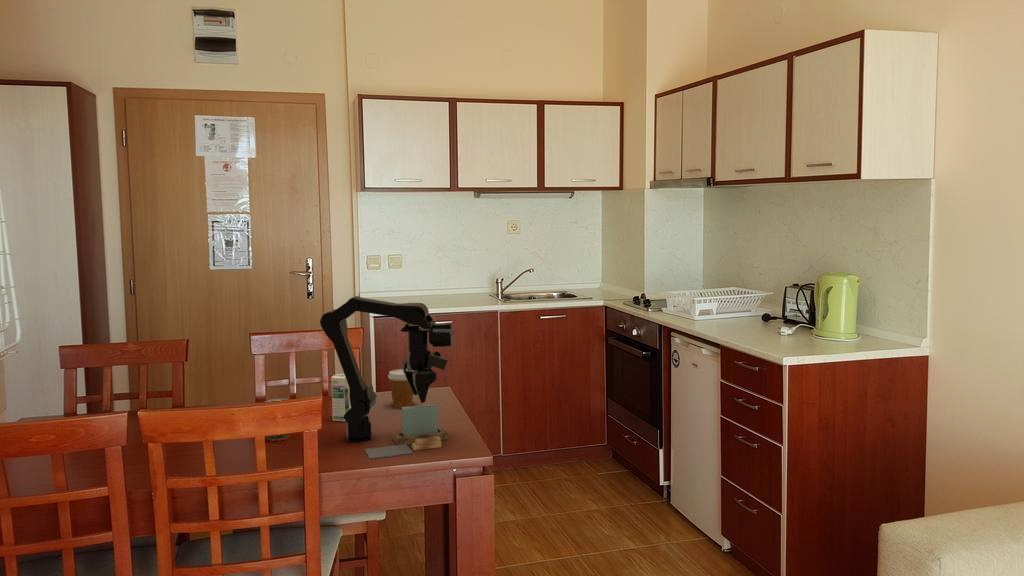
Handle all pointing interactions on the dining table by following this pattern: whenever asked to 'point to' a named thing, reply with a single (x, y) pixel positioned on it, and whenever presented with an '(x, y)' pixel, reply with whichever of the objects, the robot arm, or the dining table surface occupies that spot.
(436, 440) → the offcut stack
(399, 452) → the mat
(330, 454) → the dining table surface
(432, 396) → the dining table surface
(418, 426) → the panel
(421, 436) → the rack
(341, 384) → the syrup box
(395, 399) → the disposable coffee cup
